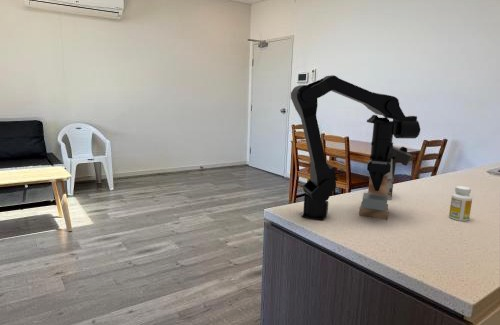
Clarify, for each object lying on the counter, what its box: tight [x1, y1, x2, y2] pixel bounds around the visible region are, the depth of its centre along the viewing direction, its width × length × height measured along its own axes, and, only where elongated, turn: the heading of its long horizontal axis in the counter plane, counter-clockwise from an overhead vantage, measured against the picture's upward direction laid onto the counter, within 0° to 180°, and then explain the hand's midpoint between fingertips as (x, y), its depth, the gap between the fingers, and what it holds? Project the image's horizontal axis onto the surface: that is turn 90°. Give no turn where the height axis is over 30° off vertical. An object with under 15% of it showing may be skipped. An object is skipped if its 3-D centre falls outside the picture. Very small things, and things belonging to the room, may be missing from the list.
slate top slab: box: [361, 192, 388, 211], centre depth 110 cm, size 7×7×3 cm
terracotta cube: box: [367, 175, 388, 195], centre depth 109 cm, size 5×5×5 cm
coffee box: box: [371, 159, 397, 201], centre depth 129 cm, size 9×6×16 cm
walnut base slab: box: [358, 201, 389, 221], centre depth 110 cm, size 8×8×3 cm
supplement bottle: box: [448, 185, 473, 222], centre depth 108 cm, size 5×5×10 cm
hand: (377, 188), depth 109 cm, fingers closed on terracotta cube, 5 cm apart
